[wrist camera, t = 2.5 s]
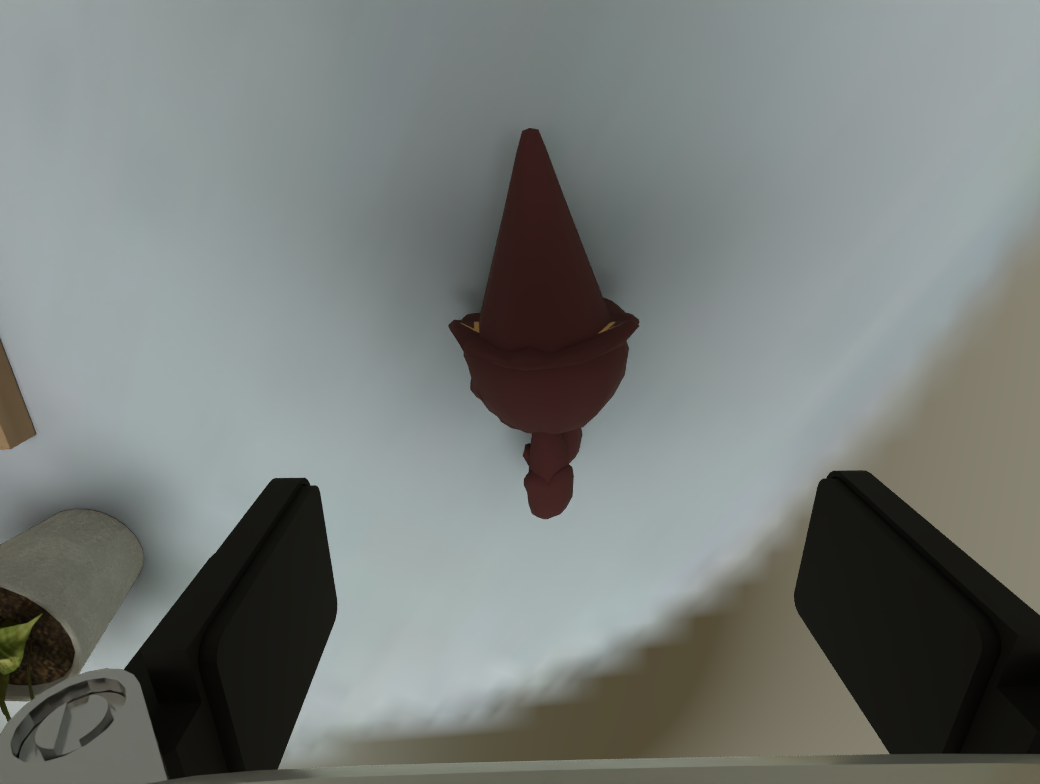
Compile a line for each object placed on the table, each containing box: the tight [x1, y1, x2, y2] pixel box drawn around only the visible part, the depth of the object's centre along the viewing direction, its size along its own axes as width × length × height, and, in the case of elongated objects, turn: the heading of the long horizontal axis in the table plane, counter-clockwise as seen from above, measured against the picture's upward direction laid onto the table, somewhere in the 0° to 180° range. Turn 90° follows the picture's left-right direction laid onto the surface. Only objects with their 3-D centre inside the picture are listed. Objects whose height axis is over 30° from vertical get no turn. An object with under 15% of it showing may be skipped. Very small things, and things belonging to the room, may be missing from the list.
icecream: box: [448, 128, 639, 519], centre depth 22 cm, size 7×7×15 cm
